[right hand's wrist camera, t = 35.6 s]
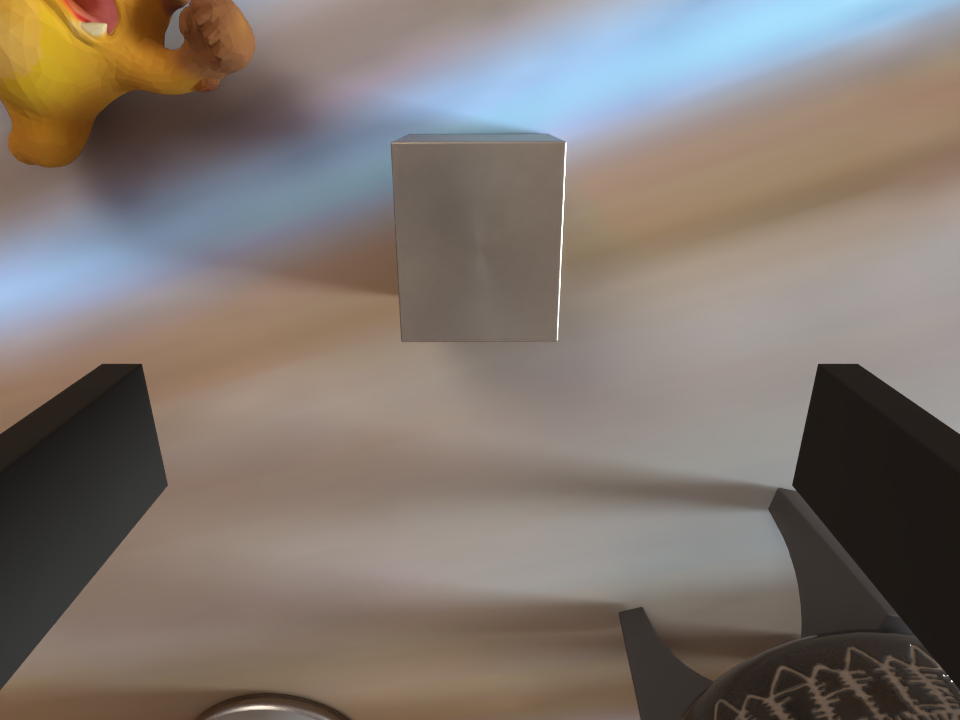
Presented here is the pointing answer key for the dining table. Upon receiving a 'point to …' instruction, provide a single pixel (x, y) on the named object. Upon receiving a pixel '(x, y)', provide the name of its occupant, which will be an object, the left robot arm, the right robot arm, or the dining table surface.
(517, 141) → the block
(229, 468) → the dining table surface
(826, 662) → the planter
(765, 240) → the dining table surface
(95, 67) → the toy
